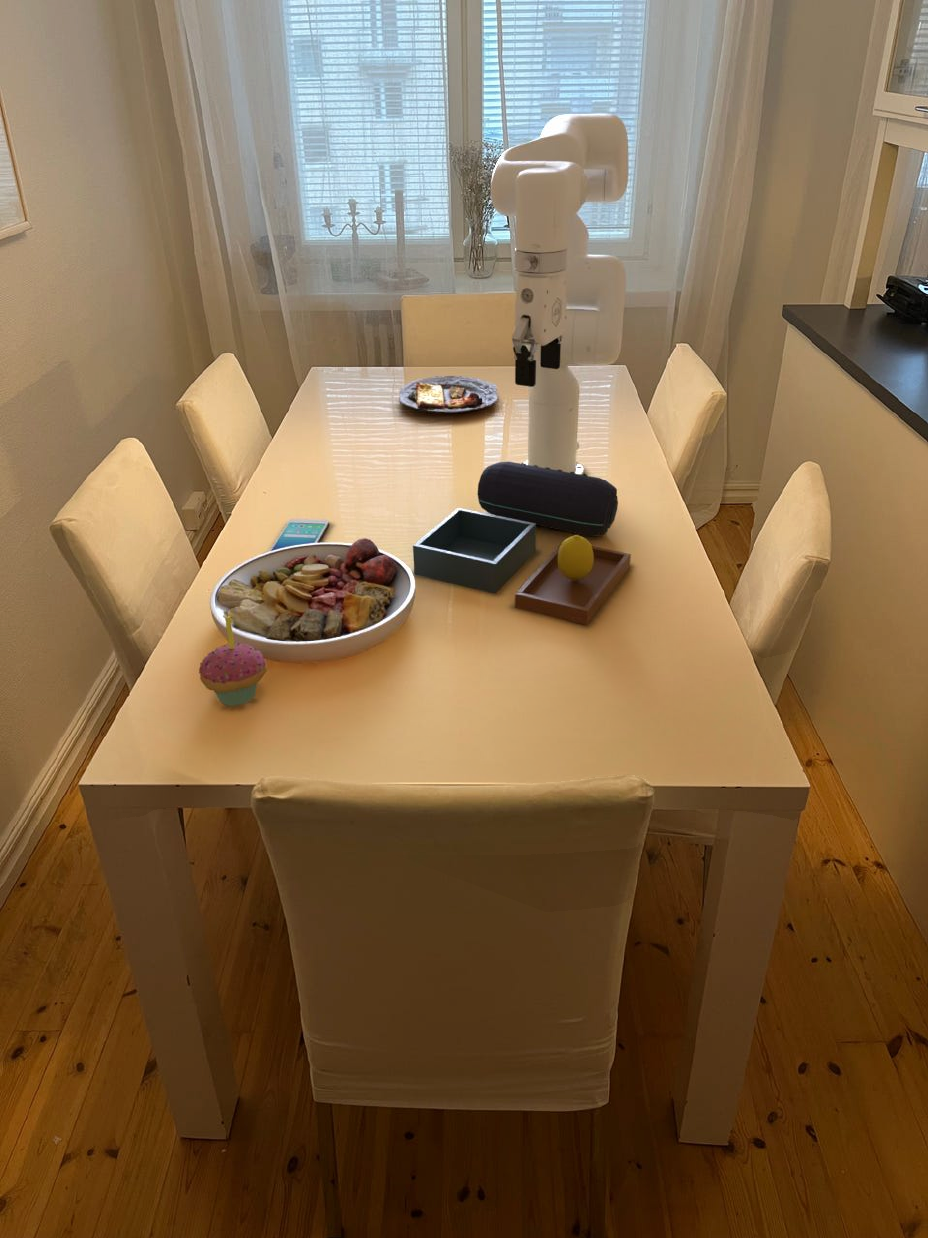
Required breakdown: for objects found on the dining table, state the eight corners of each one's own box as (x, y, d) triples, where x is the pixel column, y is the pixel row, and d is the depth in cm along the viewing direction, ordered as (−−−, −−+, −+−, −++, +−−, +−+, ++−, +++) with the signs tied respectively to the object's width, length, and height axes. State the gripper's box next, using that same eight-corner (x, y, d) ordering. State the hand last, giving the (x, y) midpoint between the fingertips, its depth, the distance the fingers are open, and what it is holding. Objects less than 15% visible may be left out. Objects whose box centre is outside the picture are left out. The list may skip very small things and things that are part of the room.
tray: (563, 553, 156) (563, 539, 154) (629, 567, 151) (630, 553, 150) (514, 607, 141) (514, 593, 139) (586, 625, 136) (587, 610, 135)
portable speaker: (624, 526, 164) (628, 473, 158) (604, 549, 156) (607, 495, 151) (497, 500, 174) (496, 449, 169) (472, 521, 167) (471, 469, 161)
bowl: (332, 699, 122) (326, 649, 118) (171, 636, 136) (161, 589, 132) (454, 598, 143) (453, 553, 139) (305, 553, 157) (300, 511, 153)
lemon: (590, 591, 143) (593, 544, 138) (554, 588, 144) (556, 542, 139) (593, 574, 147) (596, 528, 143) (558, 571, 148) (560, 526, 144)
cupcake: (210, 679, 126) (195, 603, 120) (273, 675, 127) (262, 599, 121) (200, 717, 119) (184, 639, 113) (267, 713, 120) (254, 635, 113)
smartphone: (330, 519, 166) (307, 559, 153) (330, 524, 166) (308, 563, 154) (289, 518, 167) (264, 557, 154) (290, 522, 167) (264, 561, 155)
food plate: (498, 419, 211) (498, 404, 209) (396, 420, 212) (395, 405, 210) (496, 384, 232) (496, 370, 231) (403, 386, 233) (403, 372, 231)
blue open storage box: (458, 535, 162) (457, 507, 159) (535, 551, 156) (536, 523, 153) (414, 574, 150) (412, 545, 147) (495, 594, 144) (495, 564, 142)
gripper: (541, 275, 129) (538, 395, 138) (585, 252, 142) (580, 364, 151) (492, 270, 132) (492, 389, 141) (540, 249, 145) (537, 358, 154)
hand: (537, 376), depth 146 cm, fingers open, 9 cm apart
